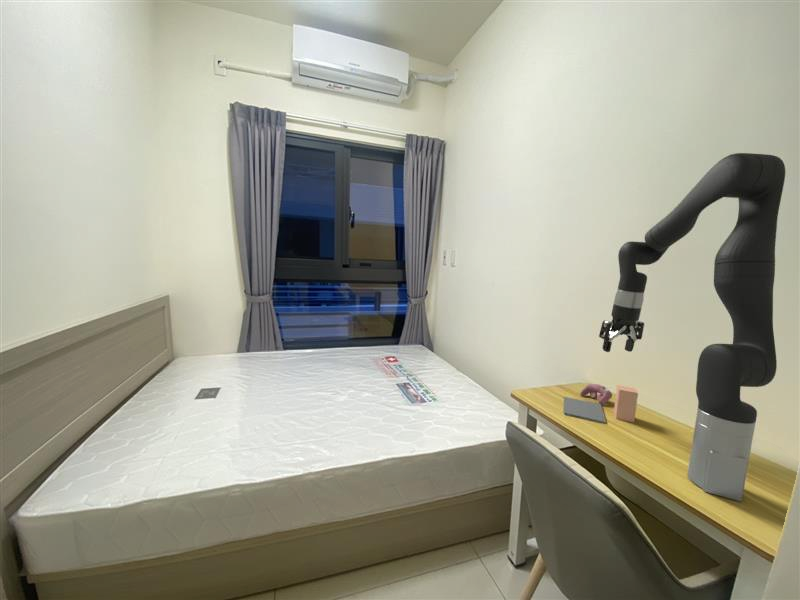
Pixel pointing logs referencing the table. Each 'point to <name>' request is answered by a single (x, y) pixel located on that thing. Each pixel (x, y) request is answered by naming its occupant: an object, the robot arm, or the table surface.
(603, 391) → the video game controller
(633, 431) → the table surface
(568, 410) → the charcoal mat
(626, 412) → the peach block
